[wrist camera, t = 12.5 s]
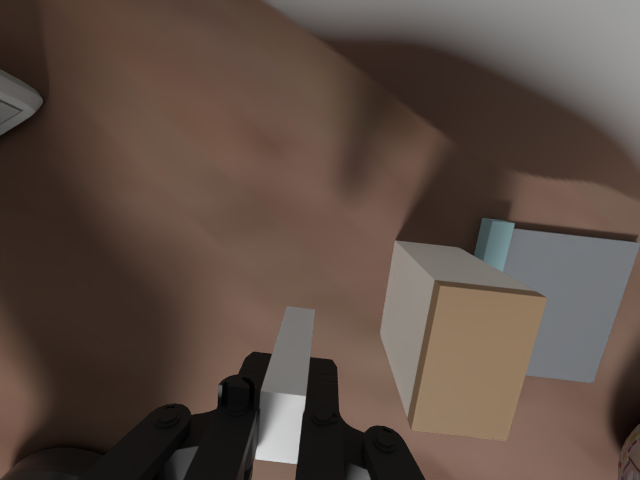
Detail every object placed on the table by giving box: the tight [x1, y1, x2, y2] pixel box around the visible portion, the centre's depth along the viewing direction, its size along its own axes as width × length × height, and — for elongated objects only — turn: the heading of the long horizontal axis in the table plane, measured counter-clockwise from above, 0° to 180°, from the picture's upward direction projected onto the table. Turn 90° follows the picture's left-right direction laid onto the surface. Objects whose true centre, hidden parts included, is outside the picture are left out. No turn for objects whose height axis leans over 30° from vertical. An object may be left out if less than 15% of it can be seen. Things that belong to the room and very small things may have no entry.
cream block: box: [380, 240, 547, 441], centre depth 20 cm, size 5×8×10 cm, turn 174°
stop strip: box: [474, 218, 515, 272], centre depth 24 cm, size 2×13×2 cm, turn 174°
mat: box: [503, 228, 640, 383], centre depth 25 cm, size 10×12×1 cm
